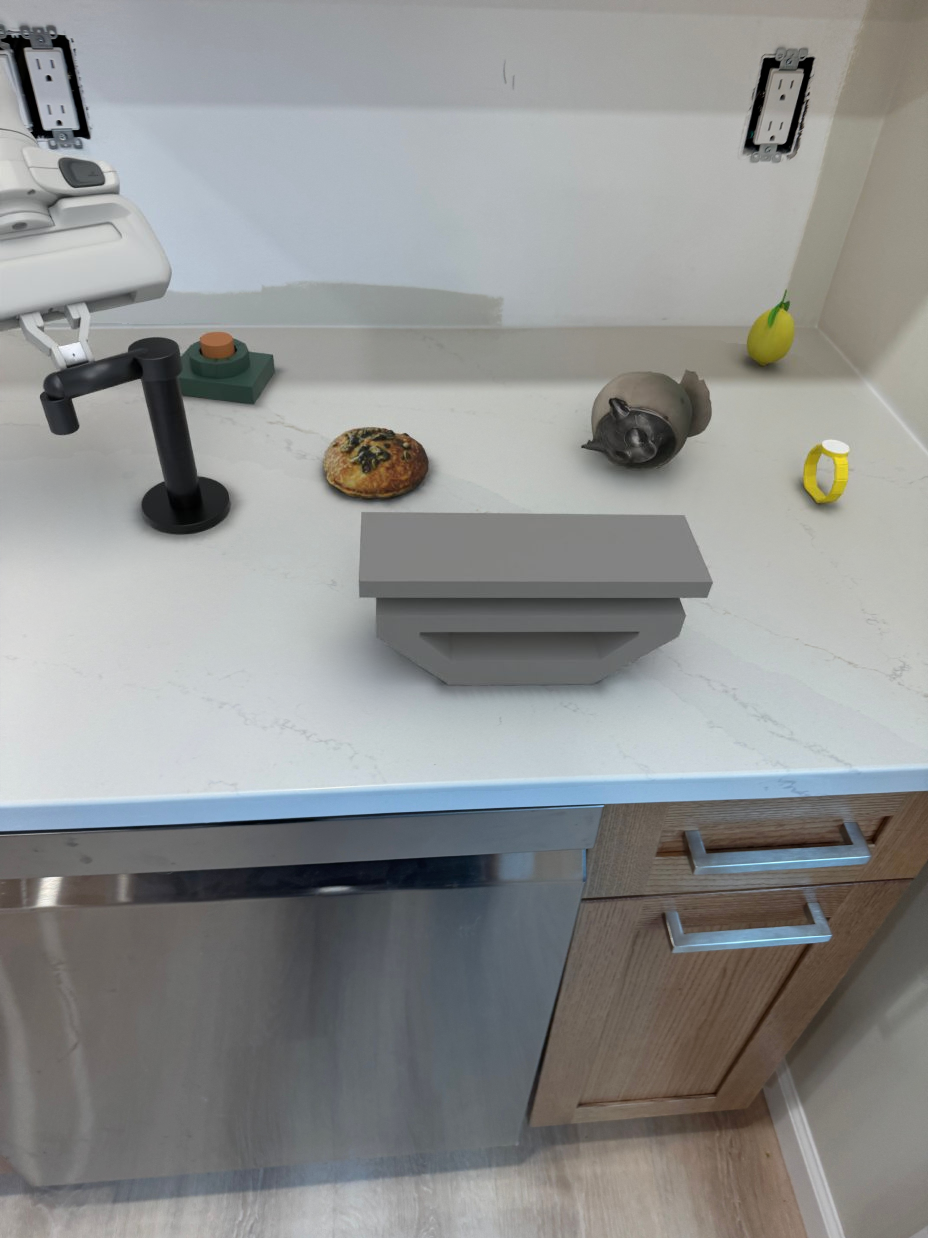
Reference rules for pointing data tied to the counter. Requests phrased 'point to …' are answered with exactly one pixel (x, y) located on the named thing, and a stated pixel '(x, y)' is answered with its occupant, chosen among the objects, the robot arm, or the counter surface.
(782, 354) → the lemon
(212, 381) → the control block
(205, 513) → the faucet base
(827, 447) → the watch
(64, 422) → the spout
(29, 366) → the counter surface
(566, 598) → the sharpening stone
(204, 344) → the tap button
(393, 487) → the bread roll
